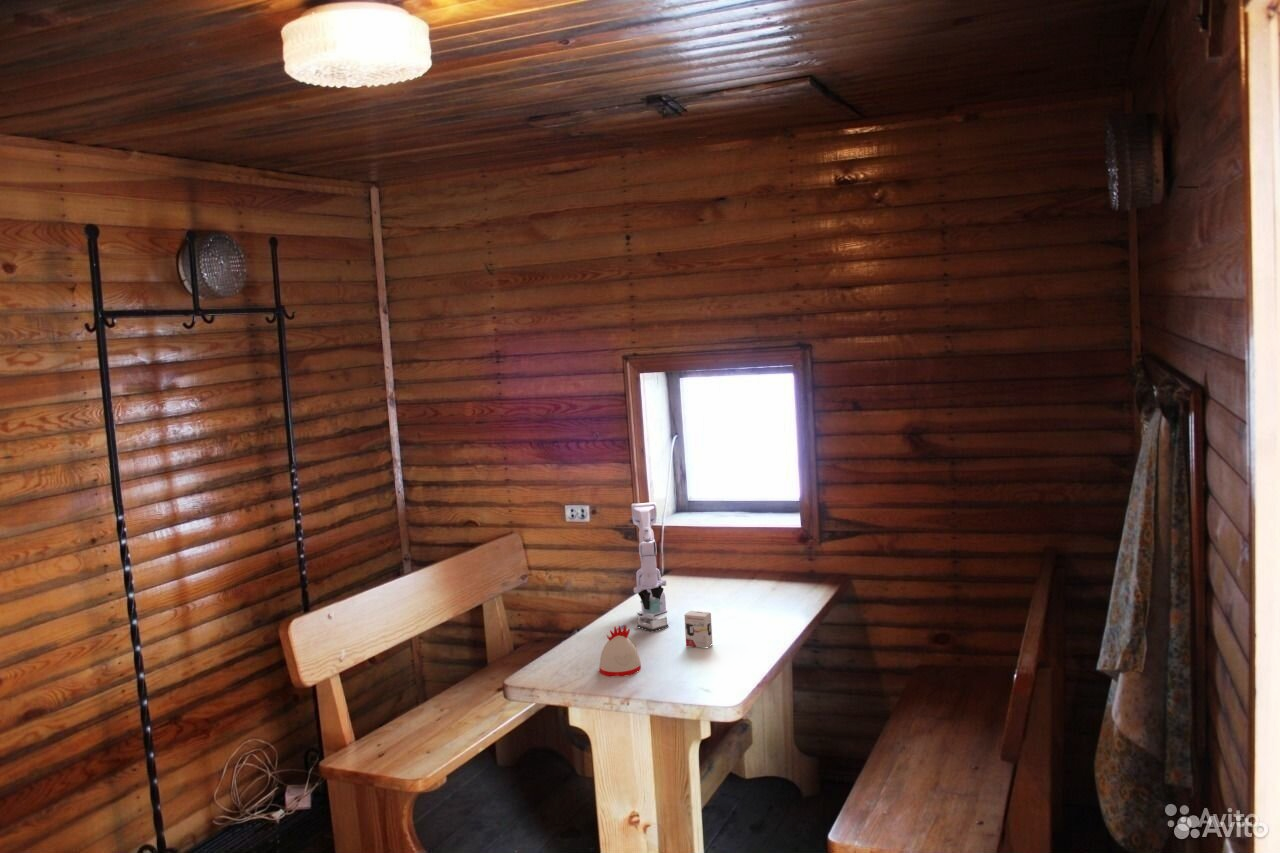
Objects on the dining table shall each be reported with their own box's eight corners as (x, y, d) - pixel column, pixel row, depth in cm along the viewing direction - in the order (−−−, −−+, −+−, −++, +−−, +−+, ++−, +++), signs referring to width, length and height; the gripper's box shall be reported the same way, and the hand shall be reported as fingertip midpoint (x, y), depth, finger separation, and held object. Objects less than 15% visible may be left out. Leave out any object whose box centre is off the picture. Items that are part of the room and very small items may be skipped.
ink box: (685, 646, 361) (683, 614, 360) (691, 642, 366) (689, 610, 364) (707, 648, 357) (705, 616, 356) (713, 644, 362) (711, 612, 360)
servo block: (649, 608, 391) (648, 594, 390) (662, 612, 384) (661, 597, 384) (641, 610, 388) (640, 596, 388) (654, 614, 382) (653, 600, 381)
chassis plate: (653, 622, 393) (652, 612, 393) (668, 626, 386) (667, 616, 386) (637, 627, 388) (636, 617, 388) (652, 632, 381) (651, 621, 381)
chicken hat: (645, 672, 337) (643, 628, 336) (605, 679, 333) (602, 634, 332) (634, 660, 350) (631, 617, 349) (595, 666, 347) (592, 623, 345)
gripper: (641, 578, 377) (643, 614, 379) (670, 570, 386) (672, 605, 388) (629, 575, 383) (631, 610, 384) (658, 567, 392) (660, 602, 393)
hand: (651, 607), depth 386 cm, fingers closed on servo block, 4 cm apart
